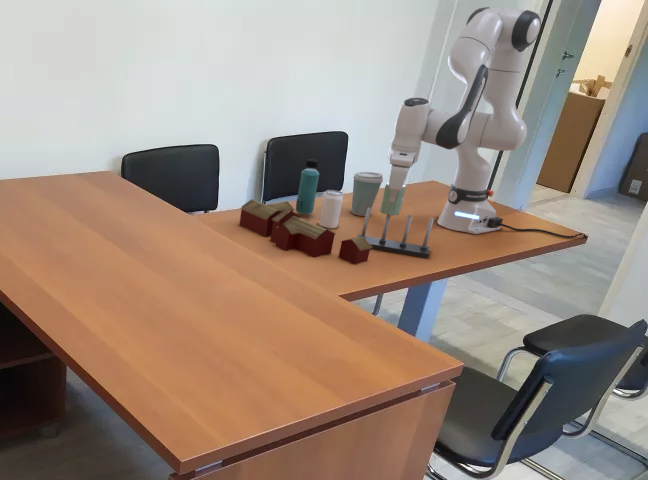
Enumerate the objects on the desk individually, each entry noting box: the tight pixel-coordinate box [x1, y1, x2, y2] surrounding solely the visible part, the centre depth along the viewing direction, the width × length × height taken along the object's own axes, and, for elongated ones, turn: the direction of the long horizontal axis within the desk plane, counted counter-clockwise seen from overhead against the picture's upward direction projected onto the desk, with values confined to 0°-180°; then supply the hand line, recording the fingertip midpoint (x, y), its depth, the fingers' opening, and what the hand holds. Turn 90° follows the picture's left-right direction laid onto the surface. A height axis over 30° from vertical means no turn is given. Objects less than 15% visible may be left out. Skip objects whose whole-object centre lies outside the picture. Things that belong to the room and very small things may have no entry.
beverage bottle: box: [295, 158, 320, 215], centre depth 252 cm, size 6×7×20 cm
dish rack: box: [356, 208, 434, 259], centre depth 230 cm, size 23×8×12 cm, turn 69°
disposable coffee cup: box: [351, 171, 384, 217], centre depth 260 cm, size 11×11×15 cm
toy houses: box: [239, 199, 373, 265], centre depth 230 cm, size 45×20×10 cm, turn 35°
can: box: [318, 189, 344, 230], centre depth 246 cm, size 6×6×12 cm
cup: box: [379, 181, 407, 216], centre depth 225 cm, size 6×6×9 cm
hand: (392, 198), depth 225 cm, fingers closed on cup, 6 cm apart
